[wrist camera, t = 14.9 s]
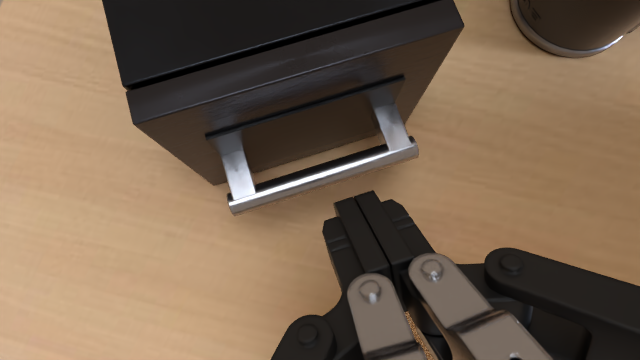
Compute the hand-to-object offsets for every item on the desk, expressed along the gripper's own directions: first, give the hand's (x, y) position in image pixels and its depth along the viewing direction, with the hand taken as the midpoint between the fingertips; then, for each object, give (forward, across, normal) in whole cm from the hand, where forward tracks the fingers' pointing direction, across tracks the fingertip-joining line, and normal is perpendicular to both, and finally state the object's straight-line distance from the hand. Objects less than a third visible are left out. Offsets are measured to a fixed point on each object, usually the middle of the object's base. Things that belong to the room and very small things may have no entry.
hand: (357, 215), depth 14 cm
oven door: (+14, 0, -6) cm, 15 cm away
